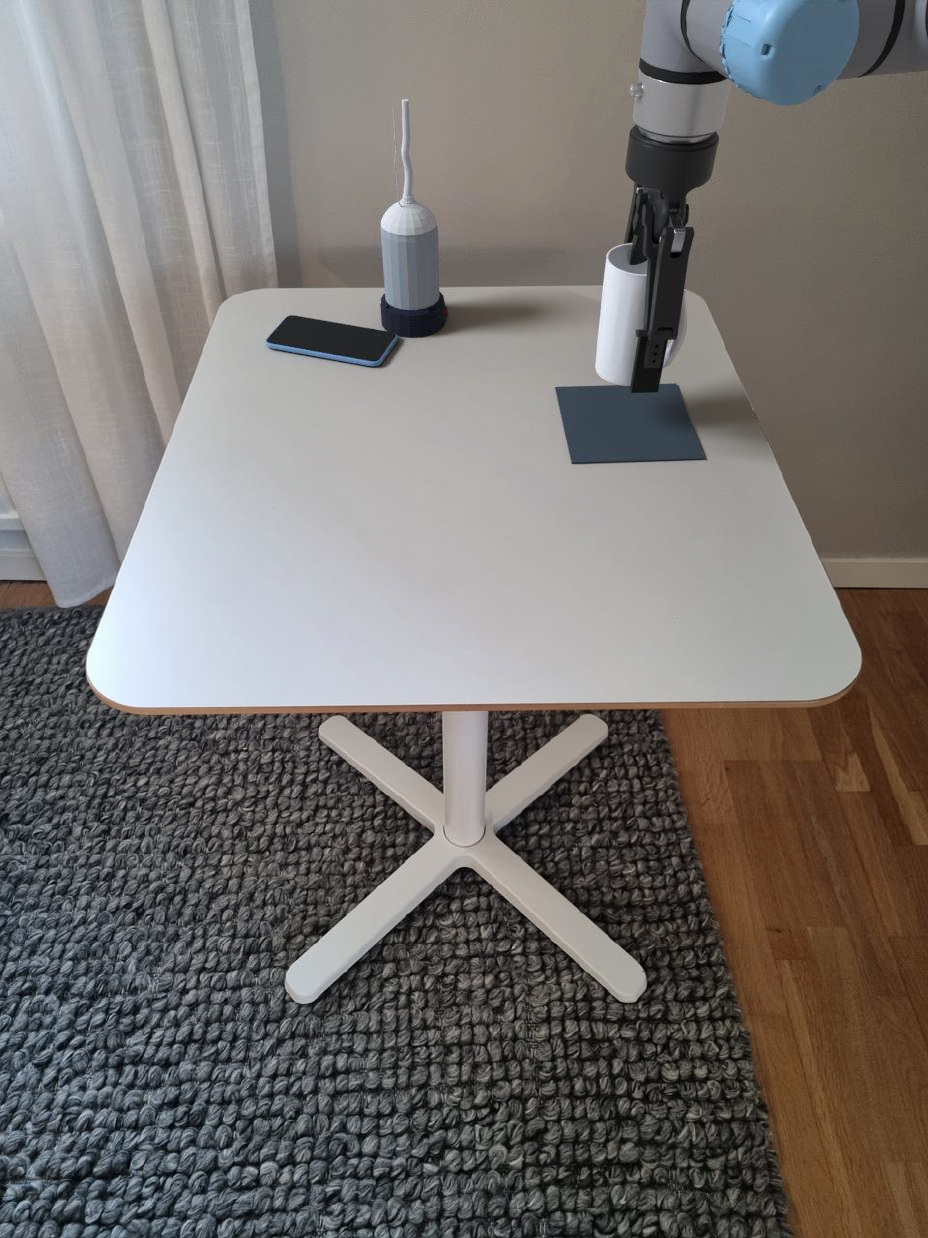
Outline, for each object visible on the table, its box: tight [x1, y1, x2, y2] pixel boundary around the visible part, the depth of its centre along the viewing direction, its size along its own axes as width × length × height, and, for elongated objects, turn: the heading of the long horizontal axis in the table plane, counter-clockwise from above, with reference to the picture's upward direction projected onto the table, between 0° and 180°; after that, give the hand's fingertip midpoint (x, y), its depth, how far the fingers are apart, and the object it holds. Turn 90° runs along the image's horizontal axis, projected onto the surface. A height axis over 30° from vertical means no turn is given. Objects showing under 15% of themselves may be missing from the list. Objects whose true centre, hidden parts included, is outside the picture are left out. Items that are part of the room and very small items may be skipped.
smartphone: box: [265, 314, 398, 367], centre depth 106 cm, size 7×1×15 cm
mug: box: [594, 243, 688, 386], centre depth 86 cm, size 10×7×12 cm, turn 37°
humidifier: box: [379, 98, 449, 339], centre depth 101 cm, size 8×8×25 cm
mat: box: [554, 382, 706, 465], centre depth 95 cm, size 14×14×1 cm
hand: (635, 365), depth 90 cm, fingers closed on mug, 8 cm apart
